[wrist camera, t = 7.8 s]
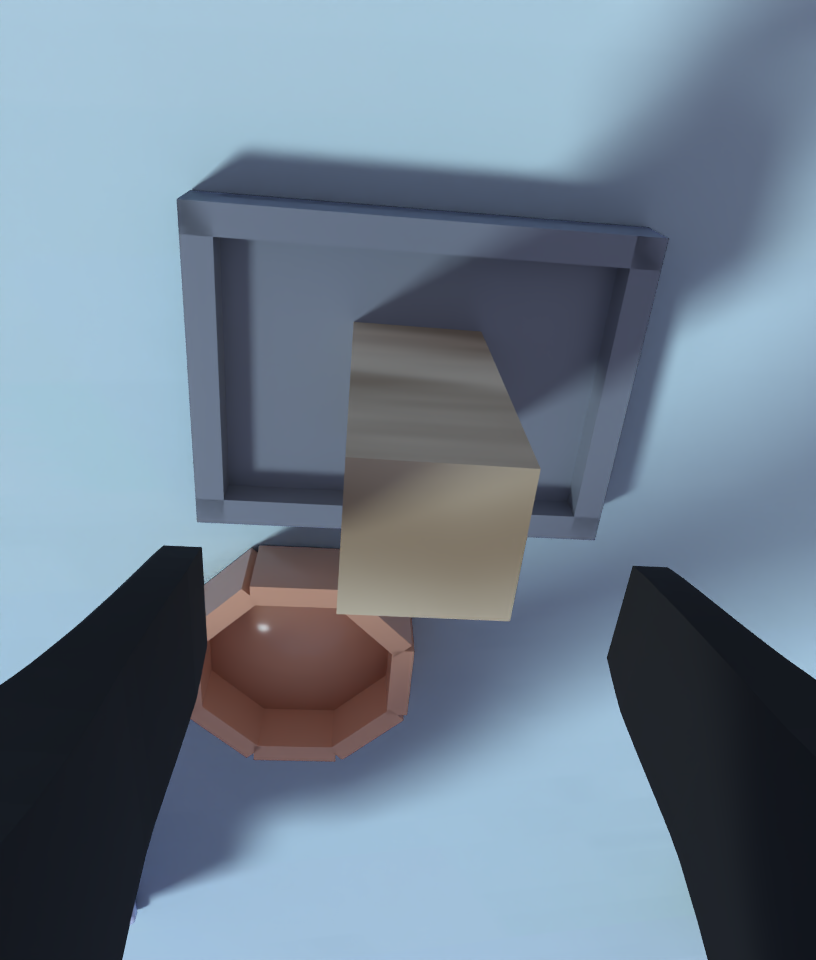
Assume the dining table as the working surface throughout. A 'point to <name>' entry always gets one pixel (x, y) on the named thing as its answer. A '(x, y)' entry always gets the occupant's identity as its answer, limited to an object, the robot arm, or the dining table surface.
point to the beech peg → (432, 478)
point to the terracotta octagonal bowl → (298, 660)
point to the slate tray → (408, 302)
